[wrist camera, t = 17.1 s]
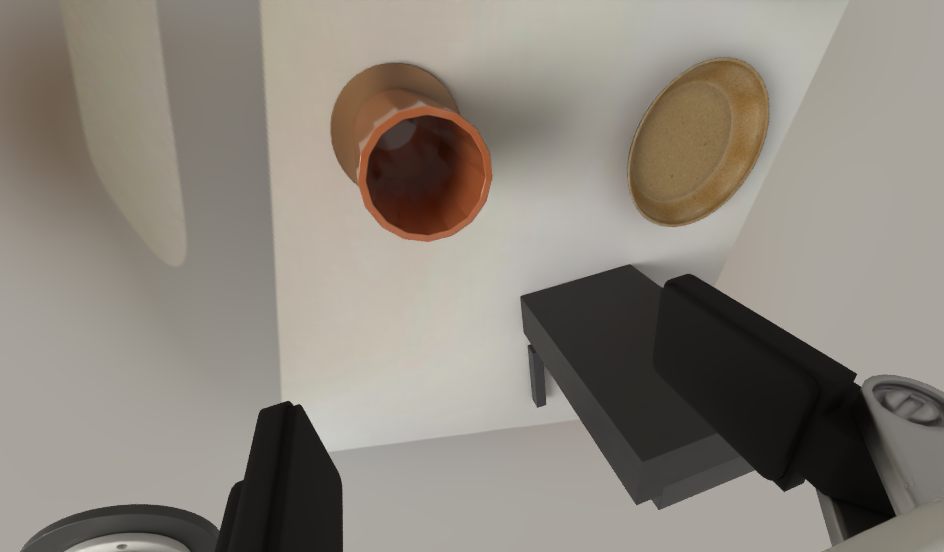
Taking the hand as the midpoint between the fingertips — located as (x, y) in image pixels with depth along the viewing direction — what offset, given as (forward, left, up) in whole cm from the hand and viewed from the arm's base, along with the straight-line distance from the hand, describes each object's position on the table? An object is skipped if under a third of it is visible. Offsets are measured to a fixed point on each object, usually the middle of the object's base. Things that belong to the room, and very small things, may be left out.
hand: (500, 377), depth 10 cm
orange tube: (+1, +1, -25) cm, 25 cm away
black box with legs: (+16, -24, -25) cm, 39 cm away
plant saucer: (+27, -4, -25) cm, 37 cm away
